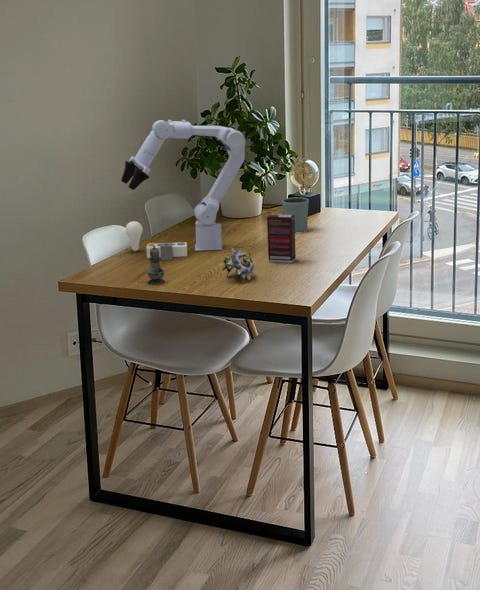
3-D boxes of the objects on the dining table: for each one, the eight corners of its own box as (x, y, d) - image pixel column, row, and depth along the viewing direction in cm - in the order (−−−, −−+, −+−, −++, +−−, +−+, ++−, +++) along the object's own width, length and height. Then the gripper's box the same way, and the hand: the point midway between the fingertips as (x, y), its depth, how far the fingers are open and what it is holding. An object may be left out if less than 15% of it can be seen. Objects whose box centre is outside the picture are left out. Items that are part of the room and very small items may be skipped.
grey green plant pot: (313, 229, 346) (313, 198, 342) (301, 234, 338) (300, 203, 334) (290, 226, 351) (290, 196, 348) (277, 232, 343) (277, 201, 340)
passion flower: (248, 296, 285) (244, 273, 275) (217, 287, 288) (212, 264, 278) (261, 269, 290) (258, 246, 281) (231, 261, 294) (227, 237, 284)
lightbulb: (141, 253, 318) (139, 223, 315) (124, 253, 319) (122, 223, 316) (146, 249, 324) (144, 219, 320) (130, 249, 325) (127, 219, 322)
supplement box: (296, 259, 304) (295, 214, 299) (292, 263, 300) (291, 217, 295) (271, 258, 307) (270, 213, 302) (267, 262, 302) (266, 216, 298)
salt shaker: (147, 279, 286) (144, 243, 283) (165, 278, 287) (163, 242, 283) (146, 285, 281) (144, 248, 277) (165, 284, 281) (163, 247, 278)
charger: (172, 255, 314) (172, 241, 312) (172, 259, 309) (172, 245, 307) (161, 256, 314) (160, 241, 312) (161, 260, 308) (160, 245, 307)
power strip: (187, 251, 319) (186, 240, 317) (187, 256, 313) (186, 244, 312) (147, 253, 318) (147, 241, 317) (147, 257, 312) (146, 246, 311)
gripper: (131, 141, 311) (111, 174, 313) (146, 151, 299) (125, 186, 301) (147, 150, 315) (127, 183, 317) (162, 161, 303) (141, 195, 305)
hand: (127, 185), depth 309 cm, fingers open, 7 cm apart
